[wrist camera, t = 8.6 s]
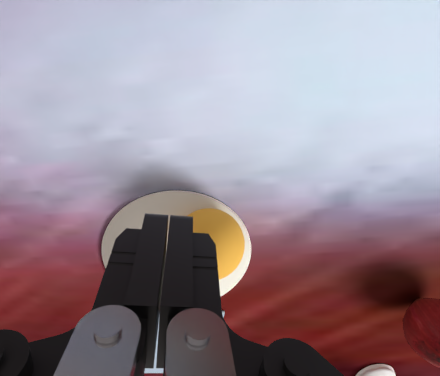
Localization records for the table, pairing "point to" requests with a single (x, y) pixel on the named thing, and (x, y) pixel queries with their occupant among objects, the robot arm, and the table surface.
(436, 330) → the onion
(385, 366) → the chess piece
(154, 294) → the robot arm
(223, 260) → the ball
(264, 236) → the table surface
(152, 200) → the disc
